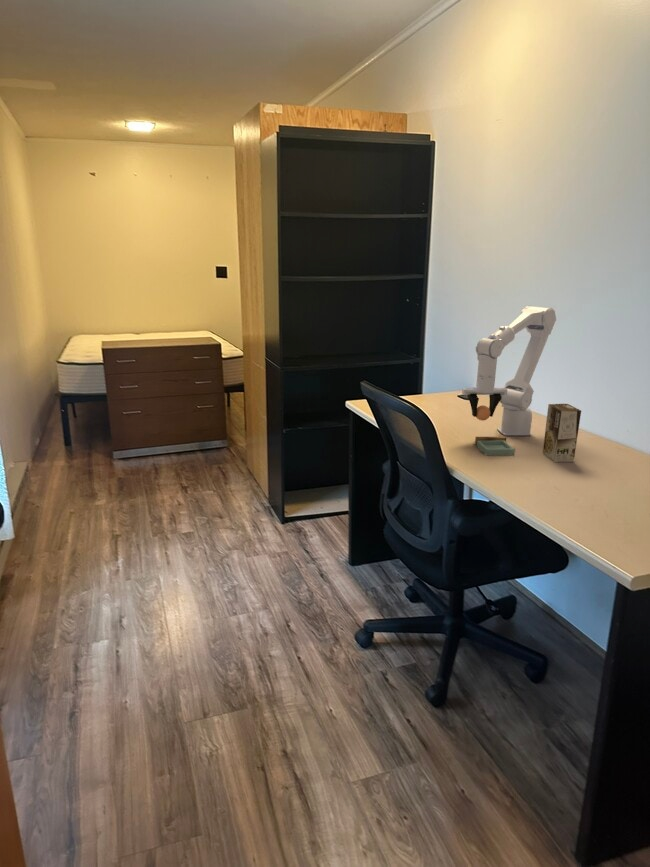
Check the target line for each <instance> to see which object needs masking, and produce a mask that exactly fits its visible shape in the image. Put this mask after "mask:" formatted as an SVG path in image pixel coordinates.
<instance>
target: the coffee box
mask: <svg viewBox="0 0 650 867" xmlns="http://www.w3.org/2000/svg"><path fill="white" fill-rule="evenodd" d="M547 406H548V407H547V415H546V423H545V430H544V439H543V448H542V454H543V455H545V456H546V457H548V458H549V459H551V460H552V461H553V462H555V463H558V462H559V463H560V462H562V463H565V462H566V463H567V462H568V463H573V462H574V461H575V457H576V456H575V455H576V449H577V441H578V435H579V427H580V424H581V423H580V420H581V414H582V410H581V409H579V408H577V407H575V406H574V405H571V404H569V403H552V404H551V403H548V405H547Z"/></svg>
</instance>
